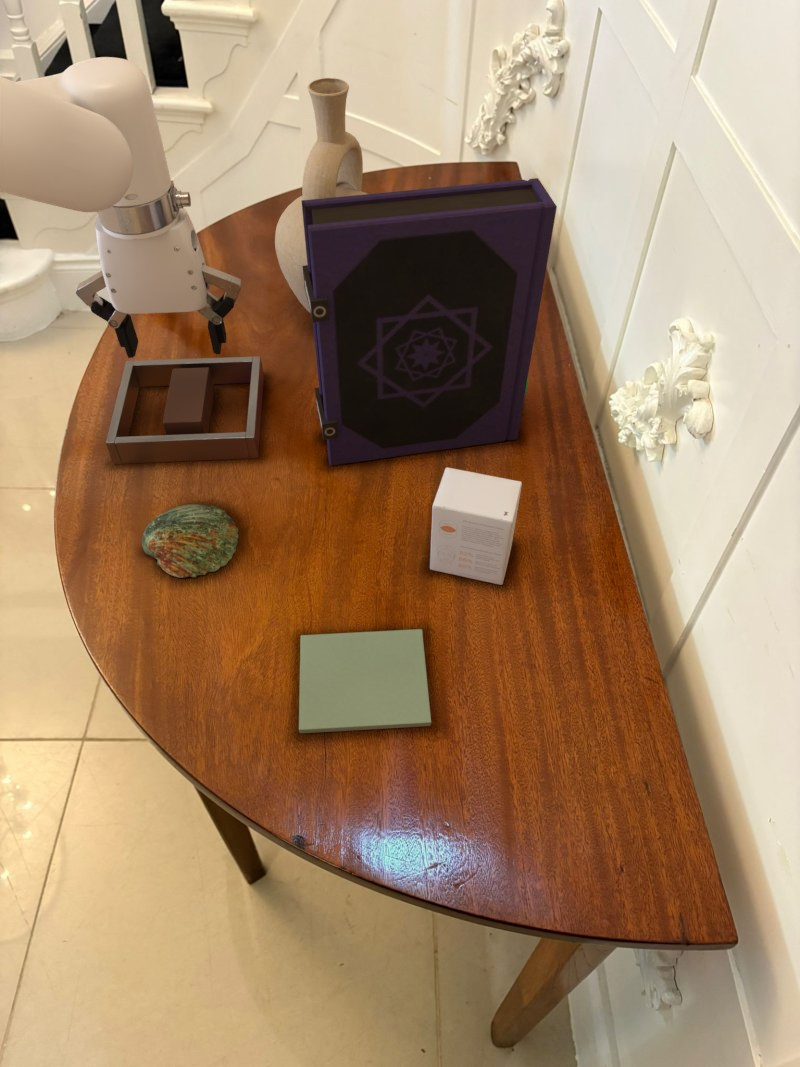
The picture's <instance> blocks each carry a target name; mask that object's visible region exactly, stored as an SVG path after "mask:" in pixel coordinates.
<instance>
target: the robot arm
mask: <svg viewBox="0 0 800 1067" xmlns="http://www.w3.org/2000/svg"><path fill="white" fill-rule="evenodd" d="M155 110H156V108H155V106H154V101H153V96H152V93H151V89H150V85H149V81H148V78H147V76H146V74H145V73H144V71H143V70H142V69H141V68H140V67H139V65H137V64H136V63H134V62H132V61H130V60H128V59H126V58H122V57H114V56H111V57H110V56H100V57H92V58H87V59H83V60H81V61H78V62H75V63H73V64H71V65H69V66H67V68H66V69H64V71H62V72H60V73H56V74H52V75H47V76H42V77H36V78H30V79H24V80H18V81H13V80H11V79H8V78H6V77H3V76H1V75H0V192H2V193H4V194H8V195H12V196H15V197H18V198H22V199H25V200H26V199H27V200H30V201H35V202H38V203H43V204H47V205H51V206H55V207H58V208H63V209H67V210H71V211H76V212H80V213H81V212H82V213H97V215H96V217H95V223H94V225H95V237H96V245H97V246H96V247H97V251H98V256H99V262H100V267H101V270H100V271H99V272H96V273H95V274H93V275H91V276H90V277H87V278H86V279H85V280H83V281H81V282H79V283H78V284H77V287H76V289H75V290H76V291H75V294H76V296H77V298H79V299H80V300H81V301H82V302H83V303H84V304H85V305H86V307H87V306H88V307H89V308H90V311H91V312H92V313H93V314H94V315H96V316H98V317H99V318H100V319H102V320H104V321H105V322H107V325H108V327H110V328H111V329H113V330H114V332H115V334H116V338H117V340H118V344H119V346H120V348H124V350H125V353H126V356H127V358H128V359H131V358H132V359H133V358H134V357H136V354H137V350H138V346H139V338H138V335H137V331H136V329H135V325H134V322H133V319H132V317H131V316H132V315H135V314H136V315H143V314H144V315H145V314H168V313H170V314H171V313H190V312H198V313H199V314H200V315H201V316H203V317H204V318H206V319H207V320H208V323H207V331H208V334H209V339H210V343H211V347H212V353H213V354H215V355H221V352H222V344H226V343H227V330H226V327H225V320H224V319H225V317H227V315H229V313H230V312H231V311H232V310H233V309H234V307H235V304H236V301H237V299H238V297H239V294H240V292H241V288H242V280H241V278H239V277H237V276H234V275H232V274H229V273H227V272H224V271H221V270H219V269H216V268H214V267H211V266H210V265H207V263H206V259H205V256H204V252H203V250H202V245H201V243H200V240H199V236H198V234H197V231H196V229H195V227H194V224H193V222H192V219H191V216H190V215H189V213H188V211H187V209H186V208H187V207H191V205H192V199H191V194H190V192H189V191H182V190H178V189H177V187H176V186H175V183H174V180H172V179H171V175H170V170H169V165H168V162H167V157H166V153H165V148H164V143H163V139H162V135H161V130H160V126H159V122H158V118H157V114H156V111H155ZM185 207H186V208H185ZM211 286H214V287H217V288H219V289H222V290H224V291H225V292H224V293H223V294H222V295H221V297H219V298H217V297H216V296H215V295H214V294H213V293H211V292H210V291H209V289H210V288H211ZM105 288H106V291H107V294H108V297H109V301H108V300H107V299H105V298H104V297H102V296H101V295H100V296H99V295H98V292H99V291H102V290H103V289H105Z"/></svg>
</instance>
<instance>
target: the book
mask: <svg viewBox="0 0 800 1067" xmlns="http://www.w3.org/2000/svg"><path fill="white" fill-rule="evenodd" d="M301 201H302V212H303V222H304V233H305V244H306V254H307V265H305V266H303V276H304V286H305V291H306V295H307V300H308V304H309V309H310V313H309V314H310V317H311V322H312V327H313V338H314V347H315V348H314V349H315V350H314V351H315V360H316V370H317V382H318V387H314V395H315V396H314V397H315V404H316V405H315V406H316V410H317V414H318V420H319V424H320V429H321V433H322V439H323V441H326V446H327V455H328V456H327V457H328V465H329V467H332V466H339V465H345V464H353V463H359V462H366V461H373V460H380V459H387V458H396V457H402V456H409V455H416V454H422V453H423V454H424V453H430V452H437V451H445V450H452V449H458V448H459V449H460V448H465V447H472V446H474V447H475V446H480V445H487V444H494V443H495V444H496V443H501V442H505V441H515V440H518V437H519V430H520V425H521V419H522V413H523V407H524V402H525V398H524V396H525V397H526V395H525V390H526V384H527V378H528V379H529V371H530V367H531V360H532V355H533V348H534V342H535V336H536V331H537V326H538V319H539V313H540V308H541V307H540V306H541V303H542V302H541V301H542V295H543V290H544V285H545V278H546V274H547V268H548V260H549V255H550V248H551V243H552V239H553V238H552V237H553V232H554V226H555V220H556V219H555V218H556V213H557V209H558V206H557V204H556V203H555V201H554V200H553V199H552V197H551V196H550V194H549V193H548V191H547V189H546V188H545V186H544V185H543V183H542V182H541V181H540V179H539V178H538V177H535V178H529V179H528V180H526V179H512V180H502V181H494V182H493V181H492V182H484V183H483V182H482V183H481V182H480V183H471V184H462V185H461V184H460V185H452V186H451V185H450V186H449V185H448V186H441V187H440V186H439V187H430V188H429V187H428V188H420V189H419V188H418V189H409V190H398V191H386V192H376V193H367V194H365V195H354V196H344V197H333V198H322V199H312V200H301Z"/></svg>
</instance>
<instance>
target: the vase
mask: <svg viewBox="0 0 800 1067" xmlns="http://www.w3.org/2000/svg"><path fill="white" fill-rule="evenodd" d="M349 90H350V86H349V84H348V82H346V81H345V80H343V79H340V78H336V77H322V78H317V79H315V80H313V81H311V82H309V84H308V85H307V91H308V93H309V96H310V100H311V102H312V107H313V113H314V119H315V128H316V141H315V142H314V144H313V146H312V147H311V149H310V151H309V154H308V156H307V159H306V161H305V166H304V170H303V176H302V184H301V191H302V193H301V194H302V195H300V196H298V197H297V198H296V199H294V200H293V201H292V202H291V203H290V204H288V206H287V207H286V208H285V209H284V211H283V212H282V213H281V215H280V217H279V219H278V221H277V224H276V229H275V235H274V248H275V254H276V258H277V262H278V265H279V267H280V271H281V273H282V274H283V276H284V278H285V281H286V282H287V284H288V286H289V288H290V289H291V291H292V292H293V294H294V295H295V297H296V298H297V300H298V302H299V303H300V304H301V305H302V306H303V308H304V309H305V310H306V311H307V312H308V313H309V314H311V313H310V309H309V304H308V300H307V295H306V291H305V286H304V276H303V266H305V265H307V254H306V244H305V233H304V222H303V212H302V201H301V200H312V199H322V198H333V197H344V196H354V195H365V194H368V193H367V192H365V191H362V186H363V172H364V171H363V170H364V162H363V151H362V147H361V145H360V141H359V140H357V138H356V137H355V136H354V135H353V134H352V133H351V132H348V131H347V130H346V107H347V99H348V98H347V97H348V94H349Z"/></svg>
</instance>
